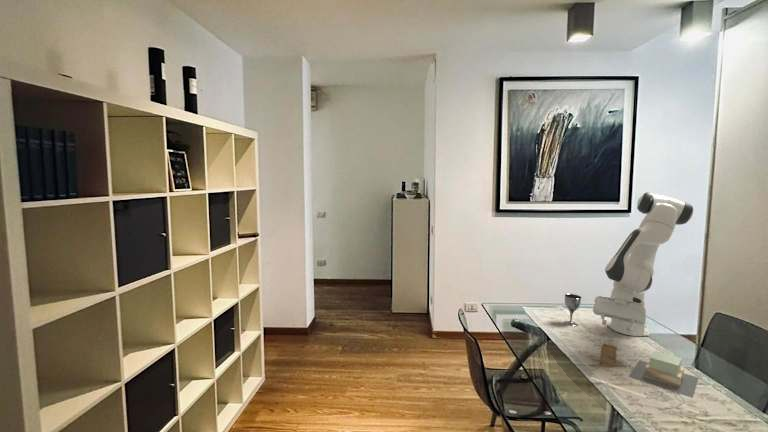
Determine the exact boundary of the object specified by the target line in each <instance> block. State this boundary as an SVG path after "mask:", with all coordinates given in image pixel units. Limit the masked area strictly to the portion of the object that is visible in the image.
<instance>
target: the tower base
mask: <svg viewBox="0 0 768 432" xmlns="http://www.w3.org/2000/svg"><path fill="white" fill-rule="evenodd" d="M649 363H650V360H648V364H647V365H646V367H645V376H644V377H647V378H650V379H653V380H656V381H659V382H662V383H665V384H668V385H671V386H675V387H678V388H679V387H680V384H681V382H682V379H683V374H684V372H685V367H683V366H681V368H680V371H679V373H678V376H676V375H673V374H670V373H666V372H663V371H660V370H657V369H653V368H650V367H649Z"/></svg>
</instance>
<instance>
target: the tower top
mask: <svg viewBox="0 0 768 432" xmlns="http://www.w3.org/2000/svg"><path fill="white" fill-rule="evenodd" d="M682 359H683V358H682V357H680V356H676V355H673V354H668V353H665V352H662V351H659V350H653V352H652V354H651V355H650V357H649V361H650V363H649V367H650V368H653V369H657V370H660V371H663V372H666V373H670V374H673V375H676V376H678V373H679V371H680V368H681V367H682Z"/></svg>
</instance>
